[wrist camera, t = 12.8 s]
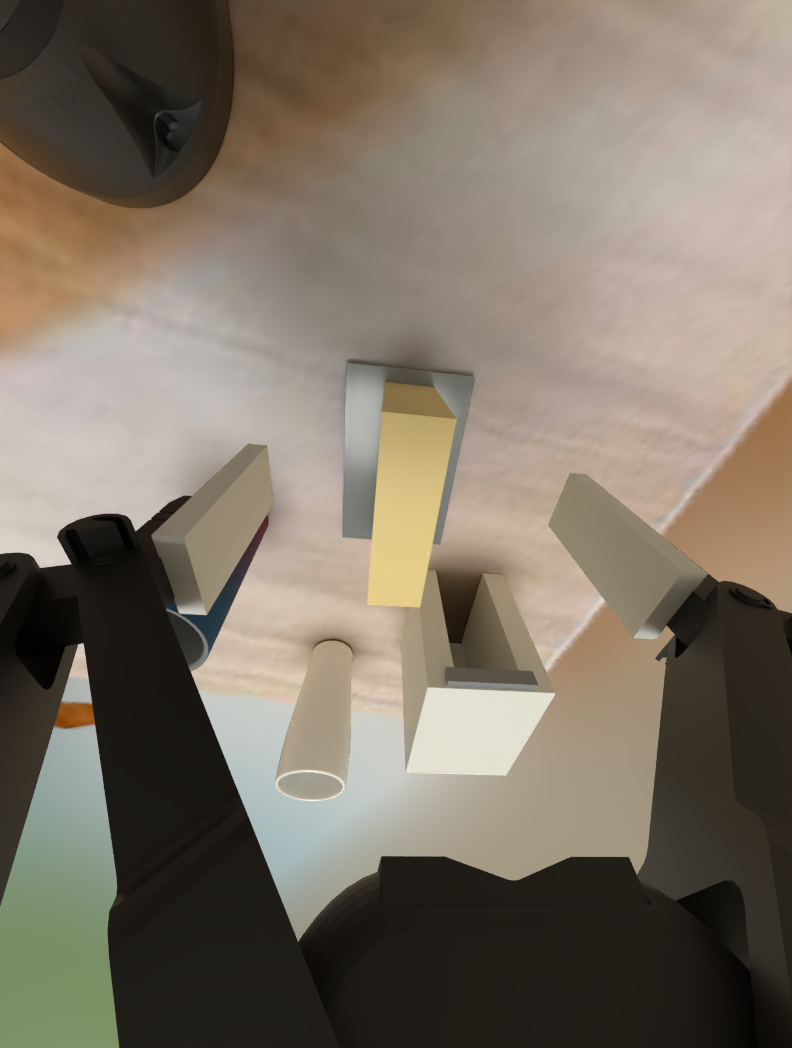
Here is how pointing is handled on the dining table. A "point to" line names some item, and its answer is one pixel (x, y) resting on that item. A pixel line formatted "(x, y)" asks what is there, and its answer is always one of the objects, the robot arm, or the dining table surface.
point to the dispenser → (470, 684)
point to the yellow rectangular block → (408, 491)
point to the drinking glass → (319, 728)
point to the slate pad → (365, 437)
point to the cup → (211, 611)
